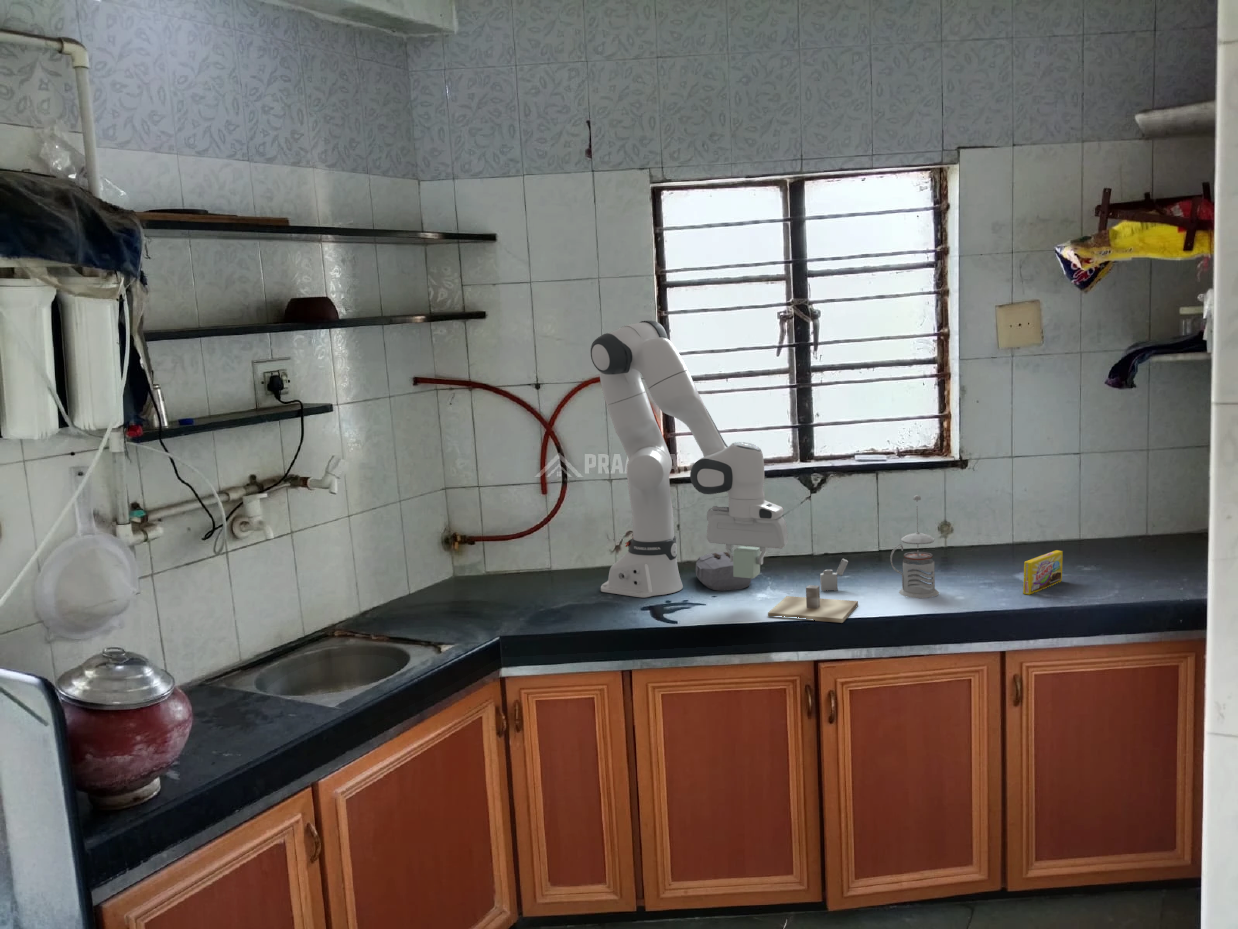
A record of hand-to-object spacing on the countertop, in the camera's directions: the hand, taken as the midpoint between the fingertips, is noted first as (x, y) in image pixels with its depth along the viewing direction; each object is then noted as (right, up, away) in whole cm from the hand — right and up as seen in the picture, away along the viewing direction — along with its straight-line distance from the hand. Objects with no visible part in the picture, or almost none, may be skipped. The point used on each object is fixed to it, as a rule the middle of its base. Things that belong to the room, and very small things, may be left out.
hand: (746, 562), depth 246 cm
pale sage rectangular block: (0, -3, 0) cm, 3 cm away
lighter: (+24, -8, +11) cm, 28 cm away
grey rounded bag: (-3, -8, +26) cm, 28 cm away
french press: (+43, -8, +4) cm, 44 cm away
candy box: (+74, -7, +1) cm, 75 cm away
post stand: (+15, -11, -6) cm, 20 cm away
